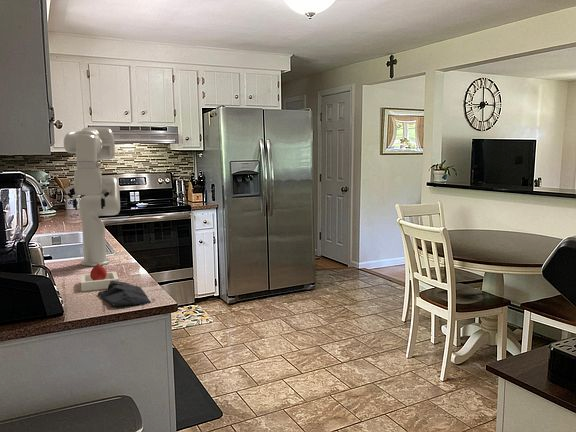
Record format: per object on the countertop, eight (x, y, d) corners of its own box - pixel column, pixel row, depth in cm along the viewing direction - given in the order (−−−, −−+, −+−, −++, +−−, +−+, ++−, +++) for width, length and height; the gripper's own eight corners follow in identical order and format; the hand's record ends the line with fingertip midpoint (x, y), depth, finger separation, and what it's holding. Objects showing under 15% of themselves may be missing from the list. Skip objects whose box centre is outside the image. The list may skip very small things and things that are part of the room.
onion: (87, 285, 176) (86, 264, 175) (96, 281, 182) (95, 261, 181) (102, 285, 175) (101, 265, 174) (109, 281, 181) (108, 261, 180)
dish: (81, 282, 182) (80, 274, 182) (116, 279, 187) (115, 271, 187) (81, 291, 170) (81, 282, 170) (119, 287, 176) (118, 279, 175)
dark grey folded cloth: (105, 312, 149) (105, 297, 149) (97, 294, 168) (96, 281, 168) (154, 304, 157) (153, 291, 156) (140, 288, 176) (139, 276, 175)
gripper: (109, 165, 190) (111, 207, 192) (63, 166, 183) (65, 209, 185) (111, 166, 183) (113, 209, 185) (62, 166, 176) (65, 211, 178)
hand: (89, 209), depth 185 cm, fingers open, 9 cm apart
